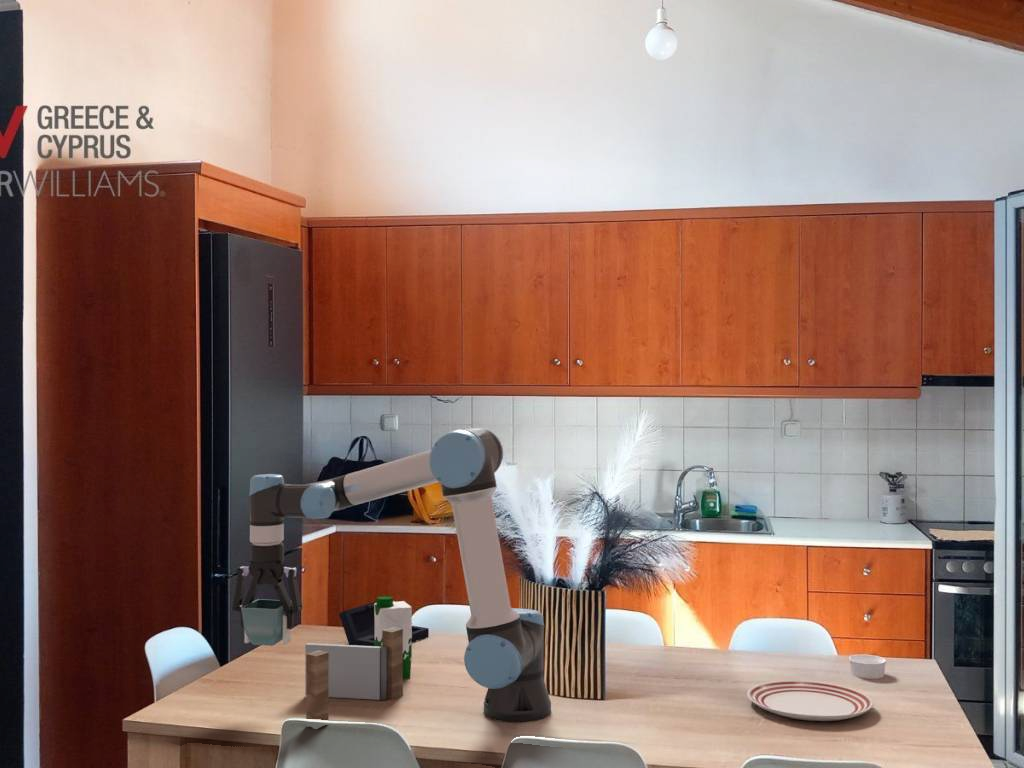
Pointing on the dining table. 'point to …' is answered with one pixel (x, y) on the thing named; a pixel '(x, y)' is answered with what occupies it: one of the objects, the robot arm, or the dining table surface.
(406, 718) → the dining table surface
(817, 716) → the dinner plate
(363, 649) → the door
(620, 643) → the dining table surface
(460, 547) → the robot arm
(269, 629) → the flower pot
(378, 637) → the milk carton
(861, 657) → the ramekin
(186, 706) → the dining table surface
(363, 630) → the storage box
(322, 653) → the door frame
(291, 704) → the dining table surface
